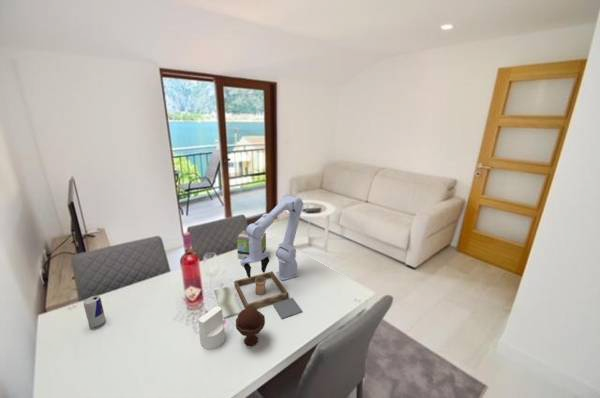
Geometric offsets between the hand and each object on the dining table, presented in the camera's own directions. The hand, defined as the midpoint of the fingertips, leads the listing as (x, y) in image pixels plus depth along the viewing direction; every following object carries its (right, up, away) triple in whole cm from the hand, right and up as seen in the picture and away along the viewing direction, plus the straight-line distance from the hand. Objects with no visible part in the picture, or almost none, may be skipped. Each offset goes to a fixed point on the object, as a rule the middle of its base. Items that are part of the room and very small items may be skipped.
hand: (256, 274), depth 126 cm
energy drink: (-61, -15, -19) cm, 66 cm away
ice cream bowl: (+2, -19, -25) cm, 31 cm away
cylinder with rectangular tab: (-13, -18, -25) cm, 33 cm away
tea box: (-8, +1, +35) cm, 36 cm away
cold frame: (-3, -10, 0) cm, 11 cm away
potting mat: (+15, -13, -8) cm, 22 cm away
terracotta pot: (+2, -10, +3) cm, 10 cm away
